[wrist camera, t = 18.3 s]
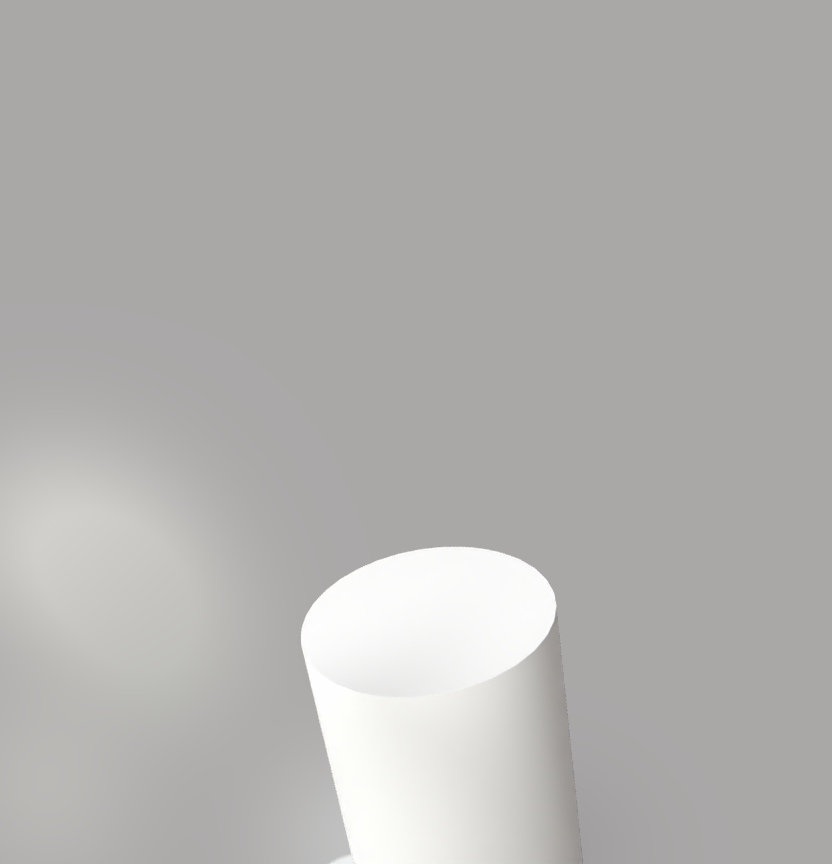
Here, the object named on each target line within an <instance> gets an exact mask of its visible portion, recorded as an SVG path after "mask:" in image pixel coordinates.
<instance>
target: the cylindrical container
mask: <svg viewBox="0 0 832 864" xmlns="http://www.w3.org/2000/svg"><path fill="white" fill-rule="evenodd" d="M301 646H302V650H303V654H304V658H305V662H306V667H307V671H308V675H309V679H310V683H311V687H312V691H313V695H314V700H315V704H316V708H317V712H318V717H319V721H320V724H321V729H322V733H323V737H324V741H325V746H326V750H327V754H328V758H329V762H330V766H331V771H332V775H333V779H334V783H335V787H336V792H337V796H338V800H339V804H340V808H341V812H342V817H343V821H344V825H345V829H346V833H347V838H348V842H349V846H350V850H351V854H352V859H353V863H354V864H583V859H582V849H581V839H580V829H579V821H578V810H577V801H576V791H575V783H574V771H573V762H572V753H571V742H570V733H569V723H568V713H567V704H566V694H565V685H564V675H563V665H562V655H561V646H560V636H559V627H558V617H557V607H556V602H555V596H554V592H553V590H552V588H551V586H550V585H549V583H548V581H547V580H546V578H545V577H543V576H542V575H541V574H540V573H539V572H538V571H537V570H536V569H535V568H533V567H532V566H530V565H528V564H527V563H525V562H523V561H522V560H520V559H517V558H514V557H512V556H509V555H506V554H504V553H501V552H496V551H491V550H486V549H480V548H470V547H469V548H468V547H439V548H429V549H421V550H416V551H411V552H406V553H401V554H397V555H394V556H391V557H387V558H385V559H381V560H378V561H376V562H373V563H371V564H369V565H366V566H364V567H362V568H359V569H357V570H356V571H354V572H352V573H350V574H349V575H347V576H345V577H343V578H342V579H340V580H339V581H337V582H336V583H335V584H334V585H332V586H331V587H330V588H328V589H327V590H326V591H325V592H324V593H323V594H322V595H321V596H320V597H319V598H318V599H317V600H316V602H314V604H313V605H312V607H311V609H310V610H309V612H308V613H307V615H306V617H305V621H304V623H303V626H302V630H301Z"/></svg>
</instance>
